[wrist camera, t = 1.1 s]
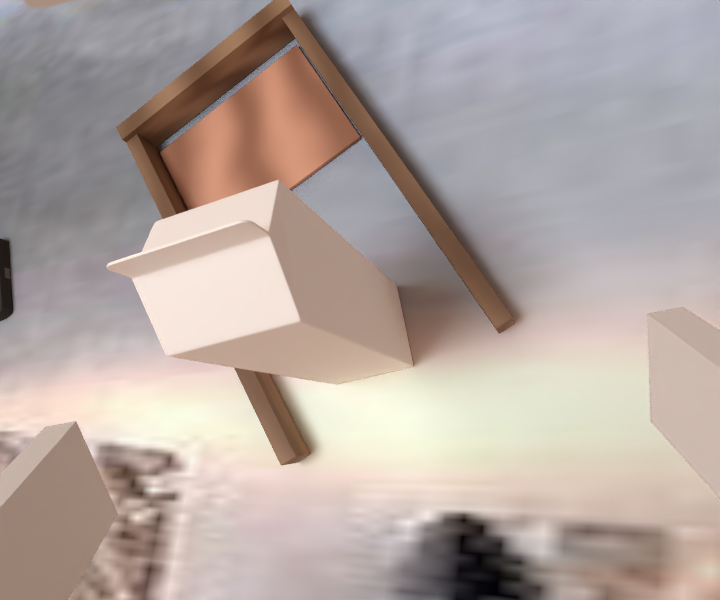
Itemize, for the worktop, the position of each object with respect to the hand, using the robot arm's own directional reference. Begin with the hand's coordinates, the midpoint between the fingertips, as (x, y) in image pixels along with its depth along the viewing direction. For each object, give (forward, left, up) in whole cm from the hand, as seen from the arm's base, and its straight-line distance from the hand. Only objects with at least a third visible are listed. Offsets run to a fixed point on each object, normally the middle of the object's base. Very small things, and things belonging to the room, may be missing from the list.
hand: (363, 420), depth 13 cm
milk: (+4, -9, -25) cm, 27 cm away
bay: (+4, -20, -25) cm, 32 cm away
